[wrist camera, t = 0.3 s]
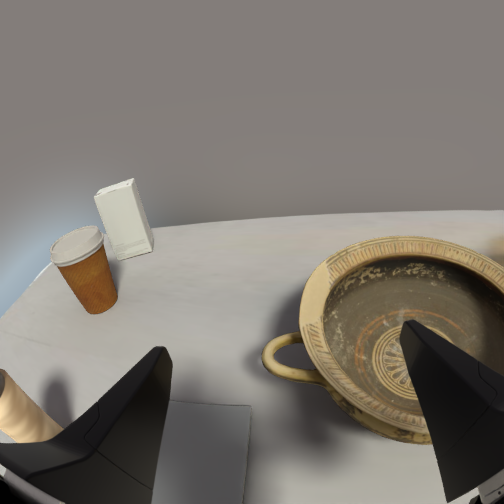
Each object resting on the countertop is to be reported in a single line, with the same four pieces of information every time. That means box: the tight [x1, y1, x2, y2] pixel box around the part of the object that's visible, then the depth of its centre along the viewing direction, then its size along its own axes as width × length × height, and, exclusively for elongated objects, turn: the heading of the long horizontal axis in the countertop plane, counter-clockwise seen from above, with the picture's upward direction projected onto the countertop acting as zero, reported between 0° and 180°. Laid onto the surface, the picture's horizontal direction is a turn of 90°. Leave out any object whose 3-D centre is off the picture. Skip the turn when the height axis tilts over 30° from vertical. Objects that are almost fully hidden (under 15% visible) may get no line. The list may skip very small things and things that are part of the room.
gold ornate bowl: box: [262, 236, 504, 445], centre depth 21 cm, size 30×24×10 cm
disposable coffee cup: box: [50, 226, 118, 314], centre depth 38 cm, size 10×10×12 cm
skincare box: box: [94, 178, 153, 261], centre depth 52 cm, size 8×6×15 cm
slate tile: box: [151, 400, 252, 504], centre depth 18 cm, size 13×13×1 cm
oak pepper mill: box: [0, 369, 64, 443], centre depth 15 cm, size 5×5×12 cm
